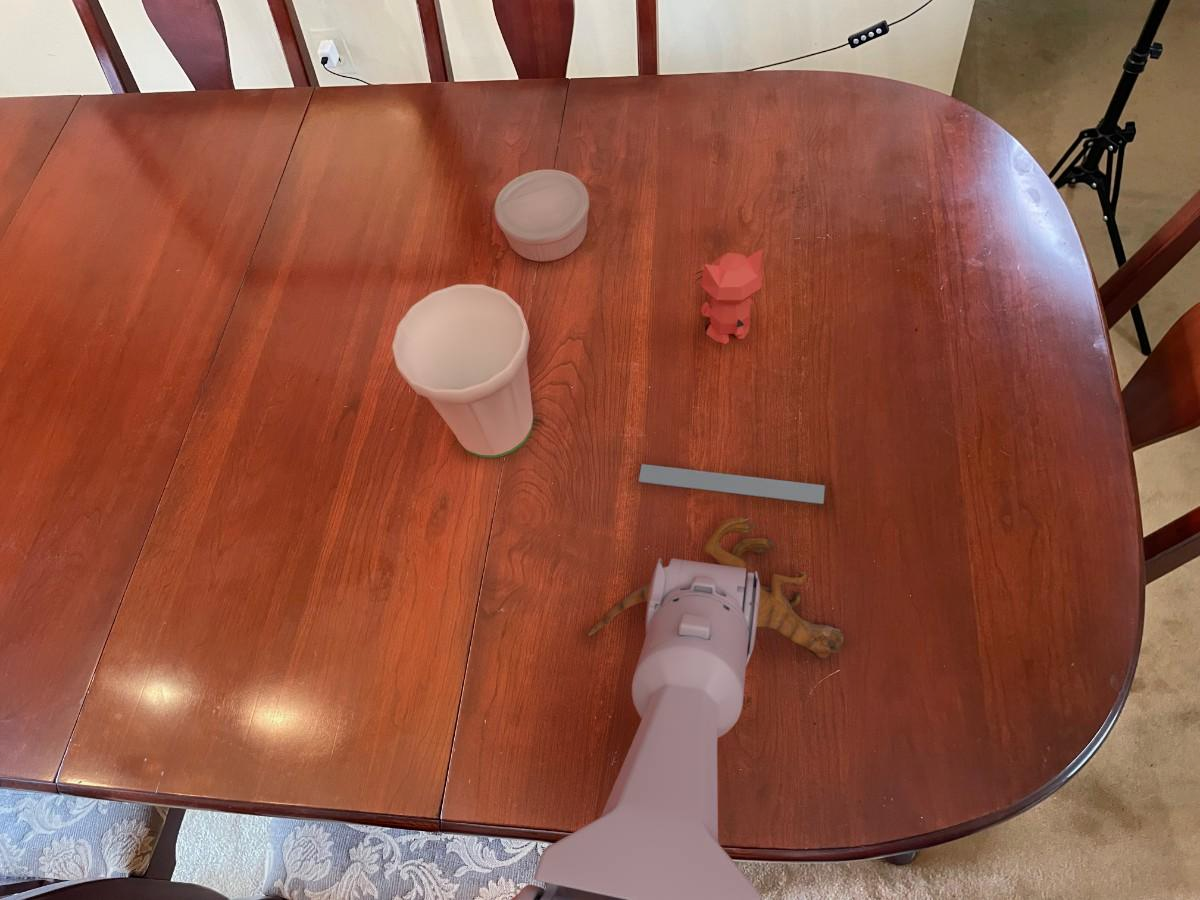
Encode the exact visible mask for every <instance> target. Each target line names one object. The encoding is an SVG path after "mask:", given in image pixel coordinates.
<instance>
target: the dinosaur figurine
mask: <svg viewBox="0 0 1200 900" xmlns="http://www.w3.org/2000/svg"><path fill="white" fill-rule="evenodd" d="M750 519H751V517H750V516H737V517H731V518H726V519H723V521H721V522H720V523H718V524H717V525H716V527H715V528H714V529H713V531H712V533H711V534H710V536H709V537H708V539H707V540H706V541H705V542H704V545H703V548H702V549H703V552H704V553H705V554H706V555H708V557H711V558H712V559H713V560H715V562H716V564H718V565H725V566H732V567H740V568H746V569H747V563H746V561H745V560H744V559H743V558H741V557H742V555H743V554H744V553H746V552H753V553H757V554H763V553H767V551H768V550H770V551H771V550H774V549H775V546H772V545H771V544H773V543H774V540H772V539H766V538H763V537H753V538H751V537H749V538H748V537H746V538H742V539H741V540H740V541H738V542H737V543H734V545H733V547H732V548H731V551H730V552H728V551H726V550H724V549H723V548H722V546H721V544H720V541H721V539H723V536H726V535H728V534H731V533H732V534H733V533H737V534H752V533H754V530H753V529H754V528H756V525H755V524H750V523H747V521H749V520H750ZM769 544H770V545H769ZM797 573H798V576H795V577H791V576H787V575H783V574H778V573H773V574H772V575H771V579H770V583H771V586H766V585H761V584H760V599H759V609H758V618H757V627H756V628H768V629H772V630H774V631H776V632H778V633H779V634H781V635H782V636H784V637H785V638H787V639H789V640H790V641H792V642H793V643H795V644H797V645H799V646H801V647H803V648H806V649H808V650H809V651H810V652H812V653H813V654H815V655H816V656H817V657H818V658H822V659H826V658H828V657H829V656H830V655H831V654H836V655H839V653H840V652H839V651H840V650H841V648H842V645H843V642H844V640H845V635H844V634H843V633H842V631H841V629H839V628H835V627H833V626H831V625H828V624H823V623H820V624H818V623H817V624H816V623H811V622H810V621H807V620H805V619H803V618H801V617H800V616H799V615H798V614H797V613H796V612H795V610H794V609H793V608H795V606H797V605H798V604H800V602H801V594H800V592H798V593H796V592H795V593H794V595H793V599H792V601H789V598H788V597H787V596H786V595H784V594H783V592H782V591H783V590H782V585H793V586H797V587H799V586H801V585H803V584H804V583H805V582H806V580H805V579H806V578H807V577H808V574H807V573H806V572H804V571H802V570H800V571H797ZM746 581H747V576H746V578H745V587H746ZM650 585H651V583H648V584H647V585H645V586H642V587H639V588H638V589H636V590H634V591H632V592H631V593H630V594H629V595H626V597H625V598H622V600H620V601H619V602H617V603H616V604H615V605H614V606H613V607H612V608H611V609H610V610H608V611H607V612H606V614H605V615H603V616H602V618H601V619H600V620H598V621H597V623H596V624H595V625H594V626H593V627H592V628H591V629H590V631H589V632H587V634H586V636H587V637H590V636H592V635H594V634H595V633H596V632H597V631H598V630H600V629H602V628H603V627H604V626H606V625H607V624H608V623H609V622H610V621H611V620H613V618H614V617H616V616H618V615H619V614H620V613H621V612H624V611H625V610H626V609H628V608H630V607H633V606H634V605H638V604H641V603H644V602H648V596H649V590H650Z"/></svg>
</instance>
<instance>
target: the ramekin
mask: <svg viewBox="0 0 1200 900" xmlns="http://www.w3.org/2000/svg"><path fill="white" fill-rule="evenodd" d="M493 210H494V217H495V221H496V224H497V226H498V227H499V229H500V230H501V232H502V233H503V235H504V236H505V239H506V241H507V242H508V244H509V246H510V248H511V249H512V250H513V251H514V252H515V253H517V255H519V256H521V257H522V258H524V259H527V260H529V261H534V262H547V263H548V262H554V261H557V260H561V259H562V258H565V257H567V256H569V255H570V254H572V253H573V252H574V251H576V250H577V249H578V248H579V246H581V244H582V242H583V241H584V240H585V237H586V234H587V232H588V219H589V211H590V196H589V193H588V190H587V187H586V186H585V184H584V182H582V180H580V179H579V178H578V177H577V176H575V175H573V174H571V173H569V172H566V171H563V170H560V169H559V170H558V169H538V170H533V171H529V172H526V173H523V174H521V175H519V176H517V177H514V179H513V178H512V180H511V181H509V182H508V183H507V184H506V185H504V186H503V188H502V189H501V190H500V191H499V193H498V194H497V197H495V202H494V207H493Z"/></svg>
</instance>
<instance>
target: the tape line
mask: <svg viewBox="0 0 1200 900" xmlns="http://www.w3.org/2000/svg"><path fill="white" fill-rule="evenodd" d="M637 481H638V483H643V484H651V485H658V486H667V487H674V488H675V487H676V488H682V489H691V490H692V489H693V490H698V491H699V490H700V491H707V492H714V493H715V492H716V493H724V494H725V493H726V494H734V495H740V496H749V497H758V498H766V499H772V500H783V501H791V502H798V503H806V504H815V505H824V504H825V489H826V485H824V484H816V483H808V482H807V483H806V482H799V481H791V480H782V479H781V480H780V479H773V478H765V477H756V476H747V475H739V474H730V473H722V472H713V471H705V470H698V469H697V470H696V469H688V468H678V467H671V466H662V465H653V464H646V463H641V466H640V471H639V476H638V480H637Z"/></svg>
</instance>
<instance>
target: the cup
mask: <svg viewBox="0 0 1200 900" xmlns="http://www.w3.org/2000/svg"><path fill="white" fill-rule="evenodd" d="M395 329H396V330H395V333H394V338H393V341H392V344H391V350H392V355H393V358H394V362H395V365H396V370H397V371H398V372H399V374H400V376H401V378H403V380H404V381H405V382H406V383H407V384H408V385H409V387H410V388H411V389H412V390H413V391H414V392H415V394H416V395H419V396H422V397H424V398H426V399H427V400H428V401H429V403H430V404H431V405H432V406H433V408H434V409H435V411H436V412H437V413H438V414H439V415H440V417H441V418H442V420H443V421H444V422H445V424H446V425H447V426H448V427H449V429H450V430H451V432H452V433H453V434H454V435H455V437H456V439H457V442H458V443H459V444H460V446H462V448H463V449H464V450H465V451H466V452H467V453H469V454H471V455H474V456H477V457H479V458H486V459H497V458H500V457H504V456H506V455H509V454H511V453H513V452H515V451H516V450H517V449H519V448H521V447H522V446H523V445H524V444H525V443H526V441H527V439H528V438H529V436H530V435H531V432H532V430H533V426H534V418H535V417H534V410H533V401H532V393H531V385H530V376H529V375H530V374H529V368H528V367H529V366H528V352H529V345H530V340H531V334H530V332H529V327H528V323H527V321H526V318H525V315H524V312H523V309H522V307H521V306H520V304H518V303H517V302H516V301H515V300H514V299H513V298H512V297H511V295H509V294H508V293H506V292H505V291H503V290H500V289H497V288H494V287H491V286H489V285H486V284H481V283H480V284H479V283H478V284H472V283H471V284H470V283H469V284H468V283H467V284H466V283H465V284H464V283H463V284H461V283H459V284H454V285H451V286H448V287H444V288H441V289H438V290H435V291H432V292H430V293H429V294H428V295H426V296H425V297H423V298H421V299H420V300H419V301H417V302H416V303H414V304H413V305H411V307H410V308H409V309H408V310H407V312H406V314H405V315H403V318H402V319H401V320H400V321H399V323H398V324H397V326H396V328H395Z"/></svg>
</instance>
